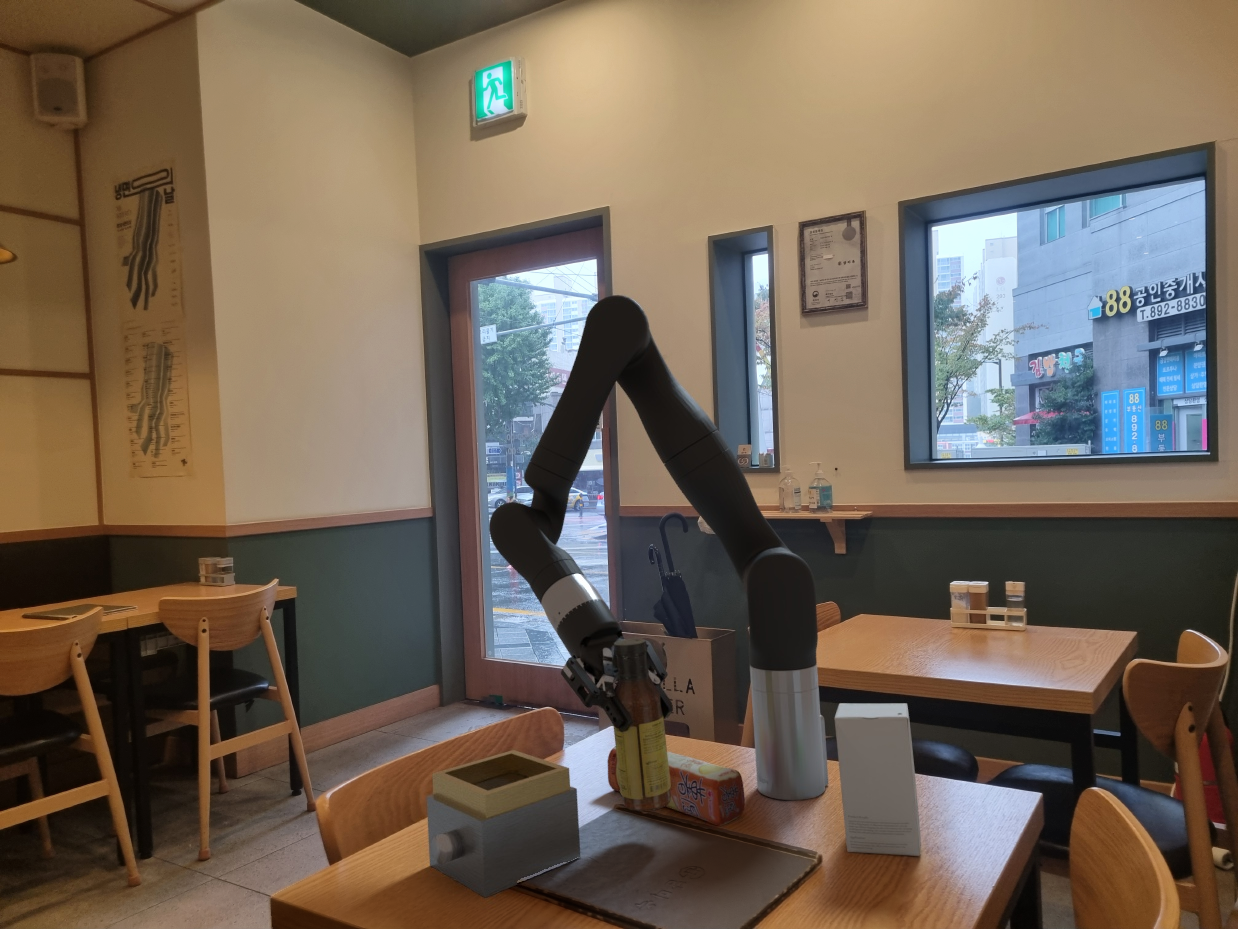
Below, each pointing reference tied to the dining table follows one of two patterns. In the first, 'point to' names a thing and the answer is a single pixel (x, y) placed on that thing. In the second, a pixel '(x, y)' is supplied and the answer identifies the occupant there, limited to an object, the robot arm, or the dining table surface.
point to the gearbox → (501, 820)
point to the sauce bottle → (640, 732)
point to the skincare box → (878, 779)
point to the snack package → (697, 788)
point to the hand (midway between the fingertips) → (648, 720)
